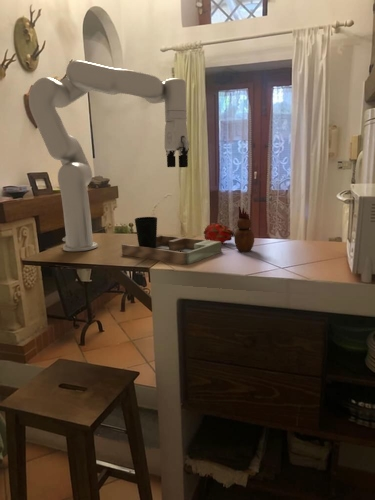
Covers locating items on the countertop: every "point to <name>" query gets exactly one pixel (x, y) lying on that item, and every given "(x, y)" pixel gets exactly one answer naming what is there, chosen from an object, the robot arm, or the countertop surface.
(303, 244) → the countertop surface
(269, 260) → the countertop surface
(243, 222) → the wooden figurine
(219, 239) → the dragon fruit
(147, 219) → the cup
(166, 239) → the open wooden tray box
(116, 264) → the countertop surface
